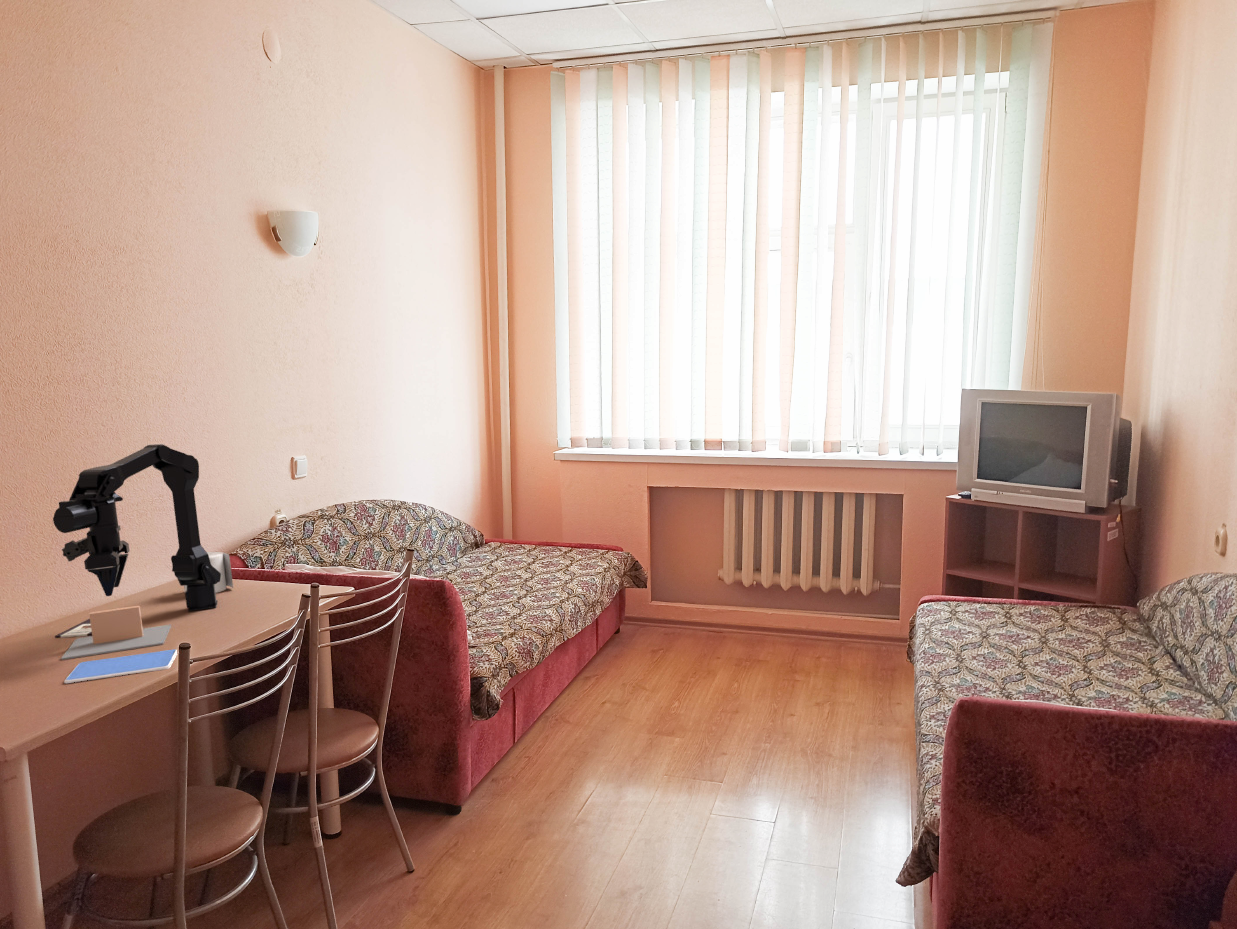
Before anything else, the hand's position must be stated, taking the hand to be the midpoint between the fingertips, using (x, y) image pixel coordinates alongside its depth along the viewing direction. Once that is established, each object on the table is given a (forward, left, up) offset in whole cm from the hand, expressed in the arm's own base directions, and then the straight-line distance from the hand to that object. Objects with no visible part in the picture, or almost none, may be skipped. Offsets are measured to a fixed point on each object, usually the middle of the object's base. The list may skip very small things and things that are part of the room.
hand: (112, 591), depth 207 cm
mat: (0, +1, -12) cm, 12 cm away
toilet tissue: (-16, -41, -12) cm, 46 cm away
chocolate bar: (+8, -19, -12) cm, 24 cm away
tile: (0, 0, -11) cm, 11 cm away
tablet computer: (-4, +22, -13) cm, 26 cm away
